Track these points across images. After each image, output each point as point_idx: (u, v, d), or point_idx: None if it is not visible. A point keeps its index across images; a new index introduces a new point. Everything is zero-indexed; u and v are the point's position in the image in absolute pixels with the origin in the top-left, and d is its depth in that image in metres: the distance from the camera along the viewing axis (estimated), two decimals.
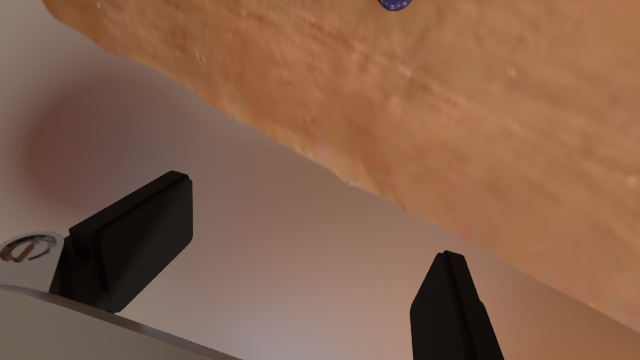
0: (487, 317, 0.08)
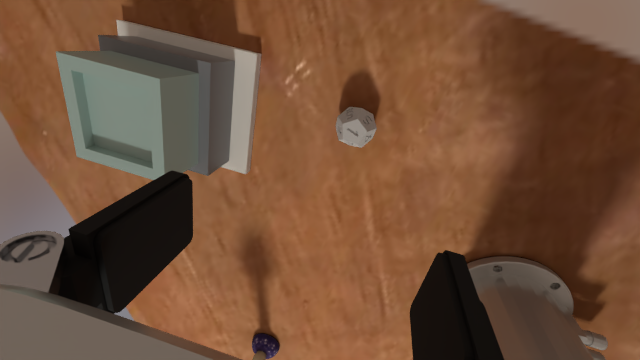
0: (487, 317, 0.08)
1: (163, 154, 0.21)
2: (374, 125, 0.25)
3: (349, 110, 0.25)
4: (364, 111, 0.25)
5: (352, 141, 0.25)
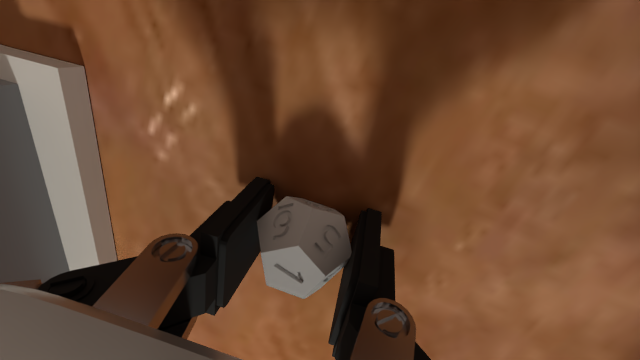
0: (393, 260, 0.10)
1: None
2: (347, 247, 0.10)
3: (284, 208, 0.10)
4: (320, 215, 0.09)
5: (290, 291, 0.10)
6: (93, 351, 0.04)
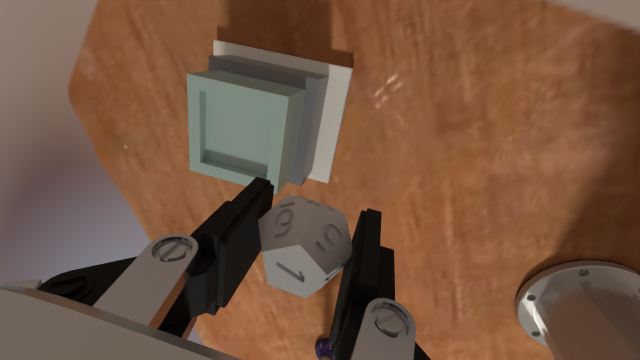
0: (393, 260, 0.10)
1: (279, 167, 0.23)
2: (348, 246, 0.10)
3: (285, 207, 0.10)
4: (321, 214, 0.09)
5: (291, 290, 0.10)
6: (93, 351, 0.04)
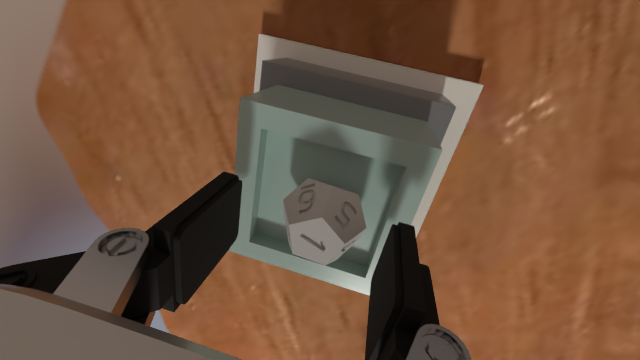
0: (430, 278, 0.09)
1: None
2: (361, 221, 0.11)
3: (307, 188, 0.11)
4: (339, 193, 0.11)
5: (313, 259, 0.11)
6: (93, 351, 0.04)
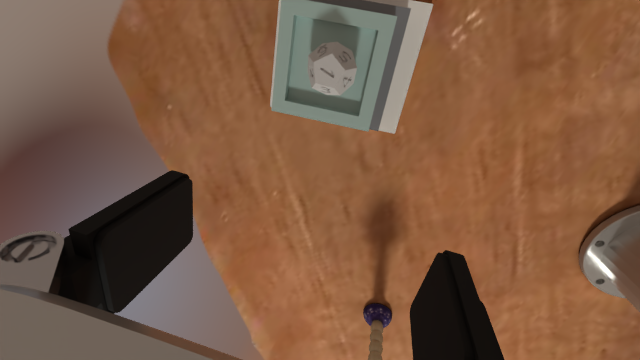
0: (486, 317, 0.08)
1: (375, 99, 0.22)
2: (354, 64, 0.20)
3: (322, 47, 0.20)
4: (340, 46, 0.19)
5: (327, 85, 0.20)
6: (93, 351, 0.04)
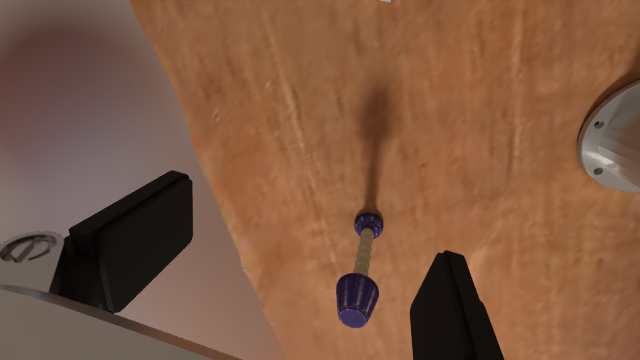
0: (486, 317, 0.08)
1: None
2: None
3: None
4: None
5: None
6: (93, 351, 0.04)
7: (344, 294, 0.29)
